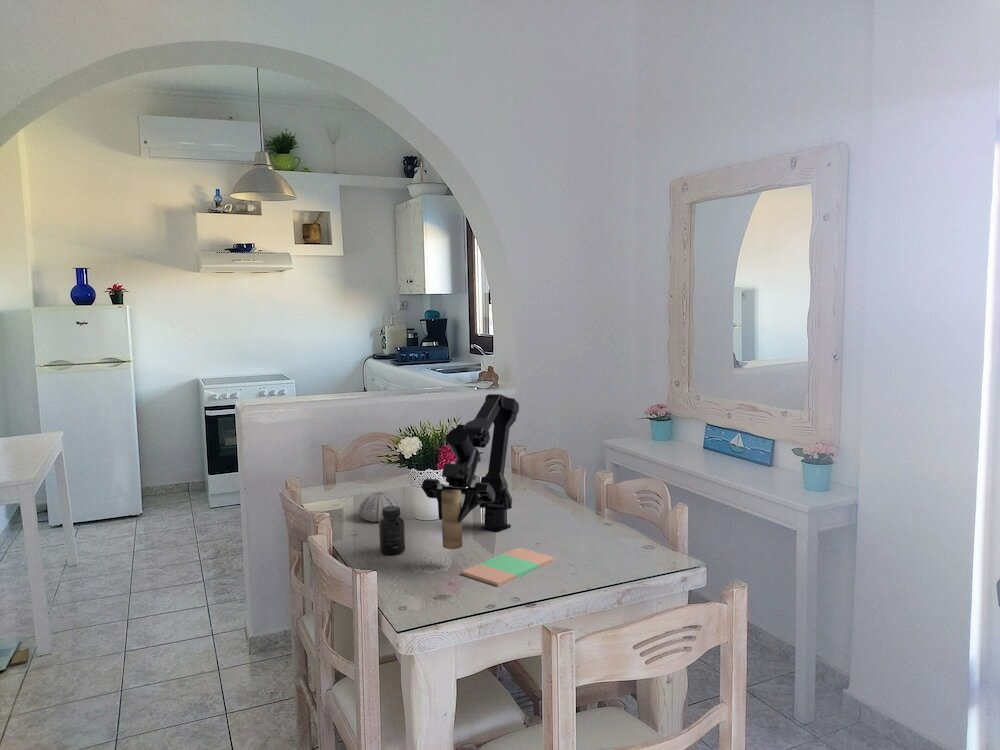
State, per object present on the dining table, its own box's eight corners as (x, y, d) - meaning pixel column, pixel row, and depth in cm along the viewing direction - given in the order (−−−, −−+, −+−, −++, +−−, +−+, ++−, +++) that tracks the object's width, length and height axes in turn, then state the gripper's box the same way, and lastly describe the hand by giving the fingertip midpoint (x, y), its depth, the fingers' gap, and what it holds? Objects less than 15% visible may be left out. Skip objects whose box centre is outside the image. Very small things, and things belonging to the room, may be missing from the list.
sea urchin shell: (401, 510, 235) (400, 486, 234) (402, 523, 221) (401, 497, 221) (359, 513, 233) (358, 488, 232) (358, 525, 219) (357, 499, 219)
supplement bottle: (377, 549, 198) (376, 506, 197) (402, 546, 200) (400, 503, 199) (382, 557, 191) (381, 513, 190) (408, 554, 194) (406, 510, 193)
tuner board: (519, 550, 195) (519, 547, 195) (554, 560, 187) (554, 557, 187) (461, 574, 179) (461, 571, 179) (498, 586, 171) (498, 583, 171)
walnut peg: (452, 541, 188) (451, 488, 186) (466, 545, 185) (465, 491, 183) (438, 546, 184) (437, 492, 183) (452, 550, 181) (451, 495, 179)
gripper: (423, 448, 189) (405, 501, 179) (490, 452, 182) (475, 507, 173) (436, 471, 197) (420, 522, 188) (501, 475, 191) (487, 529, 181)
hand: (449, 520), depth 182 cm, fingers closed on walnut peg, 5 cm apart
